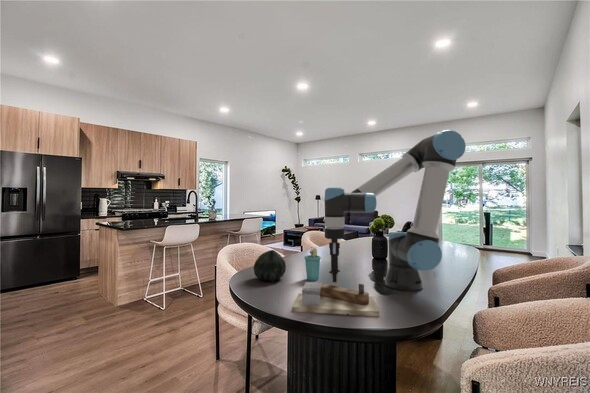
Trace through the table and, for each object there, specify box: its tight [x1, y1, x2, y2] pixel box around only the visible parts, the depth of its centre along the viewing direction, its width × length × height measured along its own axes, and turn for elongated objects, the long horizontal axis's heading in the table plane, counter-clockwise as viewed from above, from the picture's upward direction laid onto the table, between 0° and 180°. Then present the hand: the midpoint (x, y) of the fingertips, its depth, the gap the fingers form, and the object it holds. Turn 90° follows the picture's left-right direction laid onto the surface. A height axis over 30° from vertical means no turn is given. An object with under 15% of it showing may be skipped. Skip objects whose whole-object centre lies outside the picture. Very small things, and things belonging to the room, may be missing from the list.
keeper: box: [301, 281, 323, 306], centre depth 98 cm, size 6×10×5 cm, turn 171°
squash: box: [253, 249, 287, 282], centre depth 131 cm, size 14×15×15 cm
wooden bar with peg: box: [320, 283, 370, 305], centre depth 102 cm, size 24×5×6 cm, turn 54°
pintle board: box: [292, 292, 380, 317], centre depth 97 cm, size 28×14×2 cm, turn 81°
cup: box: [304, 247, 322, 282], centre depth 131 cm, size 14×8×15 cm, turn 171°
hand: (334, 289), depth 106 cm, fingers closed
